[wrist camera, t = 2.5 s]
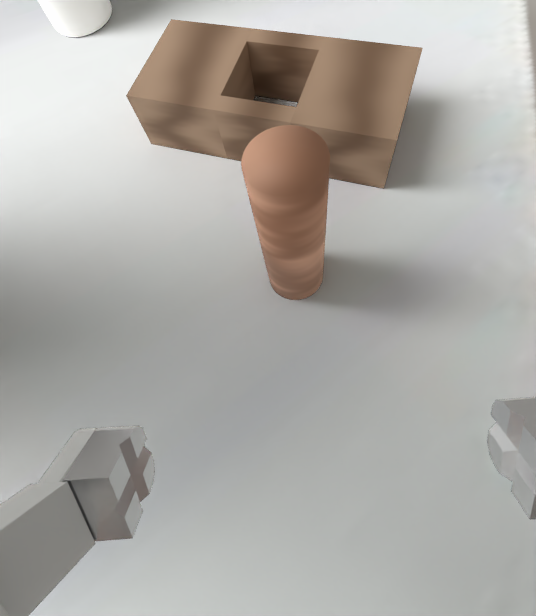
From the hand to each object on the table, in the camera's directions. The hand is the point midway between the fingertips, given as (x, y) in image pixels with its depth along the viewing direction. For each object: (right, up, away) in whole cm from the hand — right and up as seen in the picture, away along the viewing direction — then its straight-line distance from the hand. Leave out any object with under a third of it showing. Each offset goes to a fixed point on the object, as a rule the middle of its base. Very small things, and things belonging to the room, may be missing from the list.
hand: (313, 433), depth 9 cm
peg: (+1, +5, +19) cm, 20 cm away
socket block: (0, +19, +25) cm, 31 cm away
